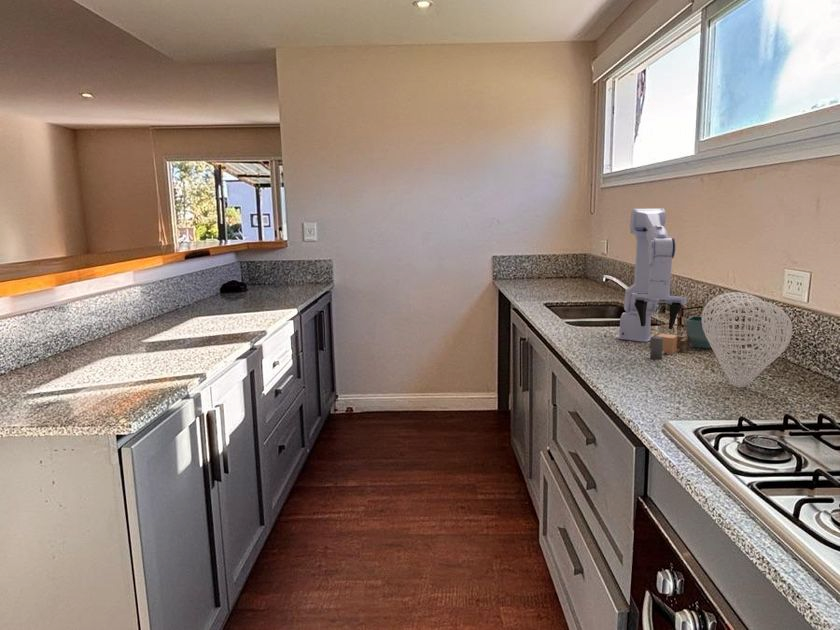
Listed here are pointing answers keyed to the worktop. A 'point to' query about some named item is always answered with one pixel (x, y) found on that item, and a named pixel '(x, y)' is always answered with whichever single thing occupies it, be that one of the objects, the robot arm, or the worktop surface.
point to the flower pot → (697, 332)
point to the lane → (680, 342)
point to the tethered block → (663, 345)
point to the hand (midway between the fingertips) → (656, 327)
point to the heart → (769, 335)
